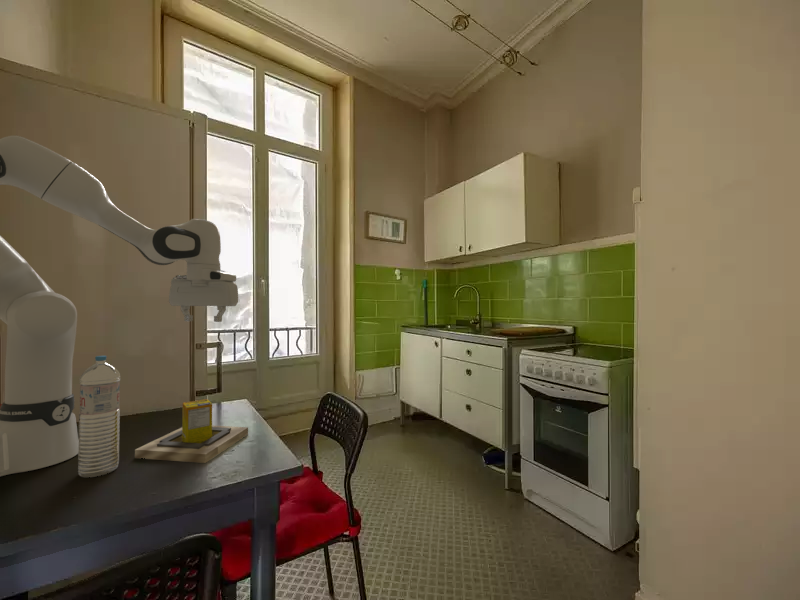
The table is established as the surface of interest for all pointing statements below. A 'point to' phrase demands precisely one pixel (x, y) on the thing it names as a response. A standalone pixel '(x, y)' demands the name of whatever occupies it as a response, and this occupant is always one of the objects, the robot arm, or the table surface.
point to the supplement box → (196, 421)
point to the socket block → (191, 445)
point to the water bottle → (99, 419)
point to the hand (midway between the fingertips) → (203, 321)
